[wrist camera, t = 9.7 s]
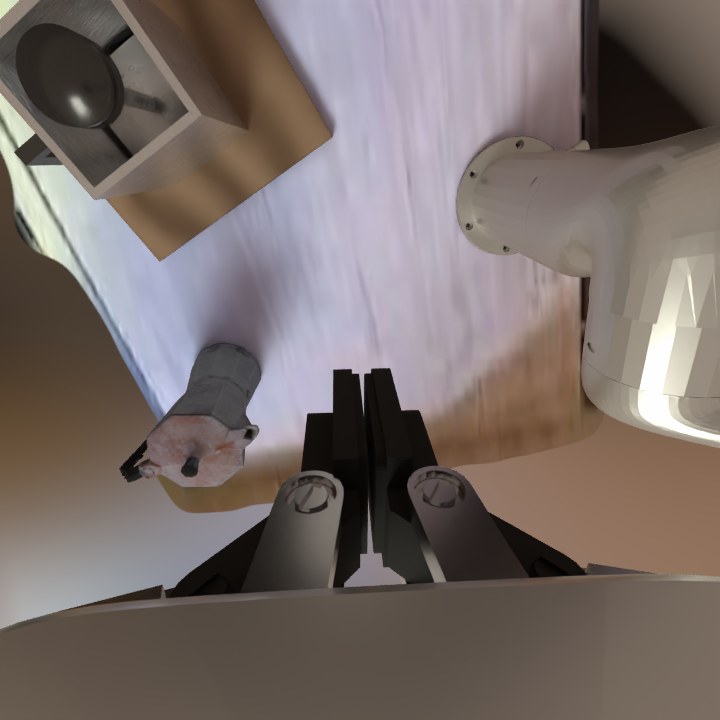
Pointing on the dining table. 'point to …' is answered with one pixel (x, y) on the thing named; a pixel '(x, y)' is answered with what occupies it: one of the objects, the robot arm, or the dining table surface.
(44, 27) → the plunger
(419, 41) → the dining table surface
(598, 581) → the robot arm
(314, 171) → the dining table surface
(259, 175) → the walnut board
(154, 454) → the moka pot
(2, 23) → the open box
